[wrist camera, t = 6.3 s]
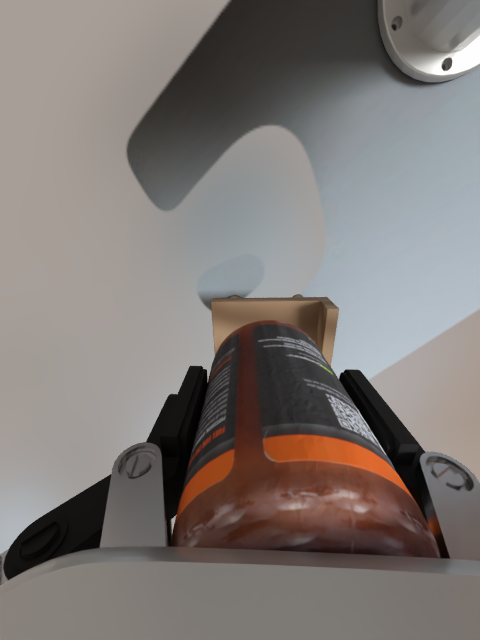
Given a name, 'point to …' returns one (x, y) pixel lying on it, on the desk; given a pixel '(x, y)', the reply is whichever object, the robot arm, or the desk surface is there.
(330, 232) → the desk surface
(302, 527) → the supplement bottle
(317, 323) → the peg shelf
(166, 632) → the robot arm
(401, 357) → the desk surface
